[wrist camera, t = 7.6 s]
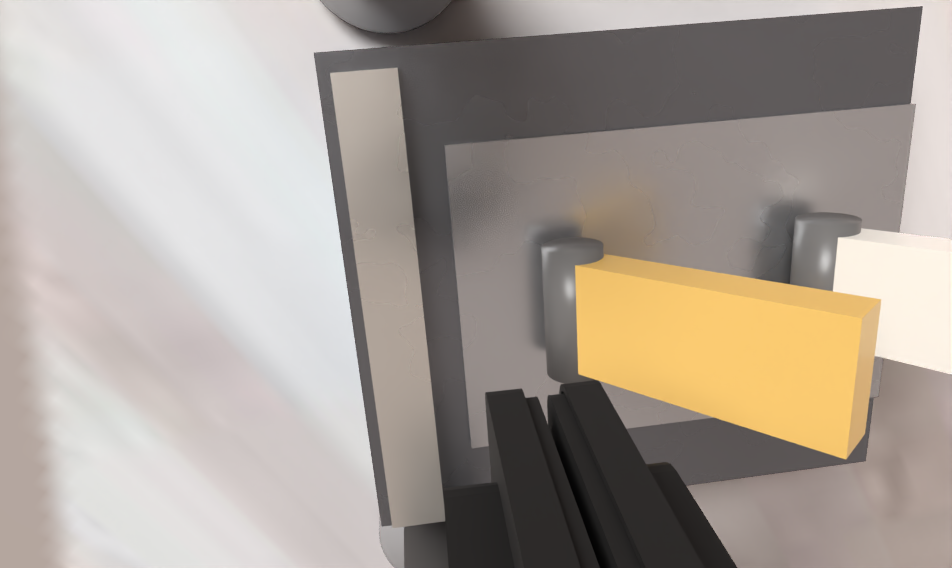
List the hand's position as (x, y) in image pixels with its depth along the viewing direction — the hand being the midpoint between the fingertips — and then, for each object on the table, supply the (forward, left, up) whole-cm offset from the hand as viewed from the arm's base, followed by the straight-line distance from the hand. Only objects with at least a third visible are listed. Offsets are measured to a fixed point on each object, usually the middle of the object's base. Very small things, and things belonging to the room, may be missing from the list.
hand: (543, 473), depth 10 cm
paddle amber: (-2, +1, -8) cm, 8 cm away
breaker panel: (-5, +1, -13) cm, 14 cm away
